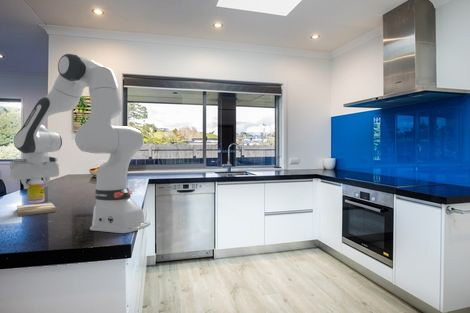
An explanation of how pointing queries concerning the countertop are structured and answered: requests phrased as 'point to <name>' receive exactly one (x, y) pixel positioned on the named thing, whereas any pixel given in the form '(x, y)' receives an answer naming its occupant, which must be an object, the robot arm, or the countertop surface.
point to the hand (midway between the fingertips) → (36, 187)
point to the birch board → (35, 209)
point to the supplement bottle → (35, 190)
